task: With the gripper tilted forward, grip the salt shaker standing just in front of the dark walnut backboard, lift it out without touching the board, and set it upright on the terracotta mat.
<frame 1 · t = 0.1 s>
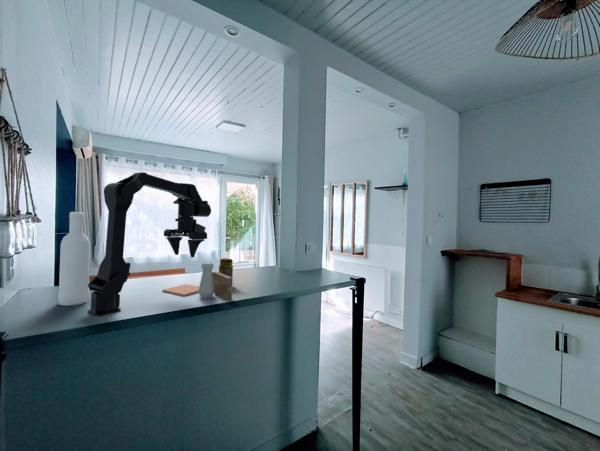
hand: (184, 256, 111), 15 cm above the countertop, tool pointing down, fingers open, 9 cm apart
condiment: (224, 286, 126), on the countertop
salt shaker: (206, 297, 107), on the countertop
terracotta mat: (185, 290, 115), on the countertop
bottle: (73, 302, 94), on the countertop
walnut backboard: (221, 294, 111), on the countertop
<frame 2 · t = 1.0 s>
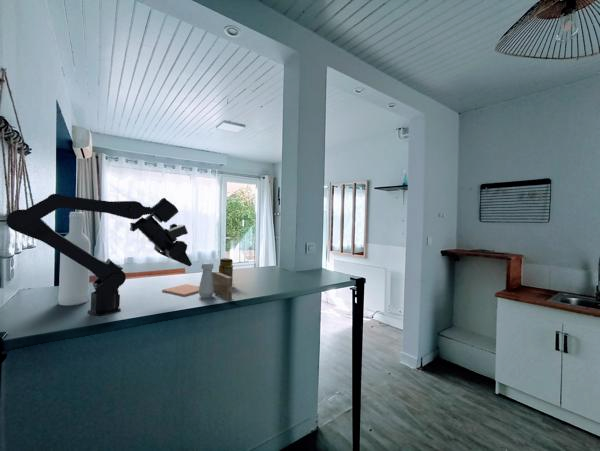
hand: (186, 263, 102), 13 cm above the countertop, tool tilted 45°, fingers open, 9 cm apart
nothing on the countertop moved.
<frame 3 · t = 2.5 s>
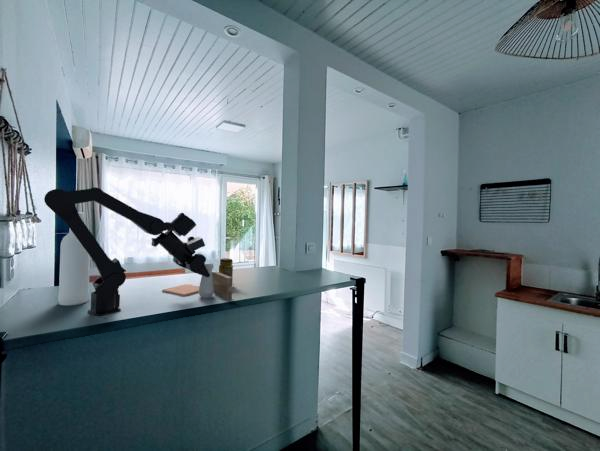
hand: (204, 274, 107), 9 cm above the countertop, tool tilted 45°, fingers open, 9 cm apart
nothing on the countertop moved.
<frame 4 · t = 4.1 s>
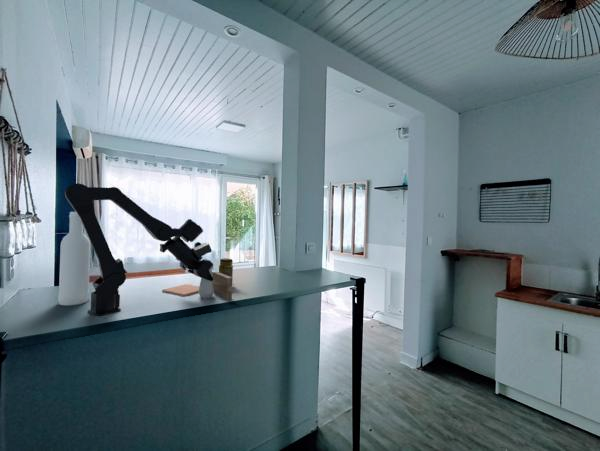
hand: (210, 279, 108), 7 cm above the countertop, tool tilted 45°, fingers closed on salt shaker, 3 cm apart
salt shaker: (206, 297, 107), on the countertop, touching gripper
everything else where it was.
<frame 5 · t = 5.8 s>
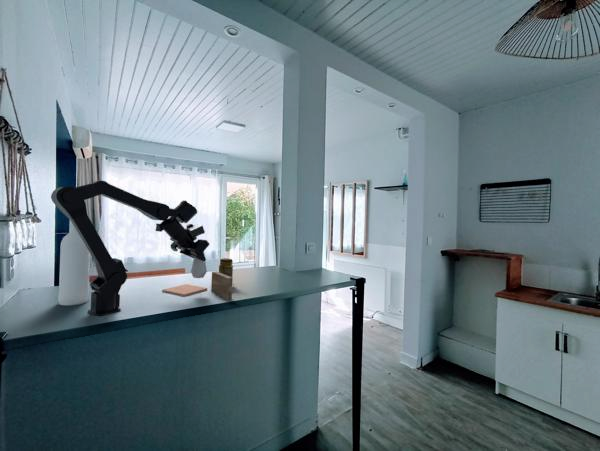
hand: (202, 260, 112), 13 cm above the countertop, tool tilted 45°, fingers closed on salt shaker, 3 cm apart
salt shaker: (198, 277, 111), point 6 cm above the countertop, touching gripper
everything else where it was.
when the fingers open (8 cm above the countertop, at t = 7.8 s): salt shaker stays where it is, resting on terracotta mat.
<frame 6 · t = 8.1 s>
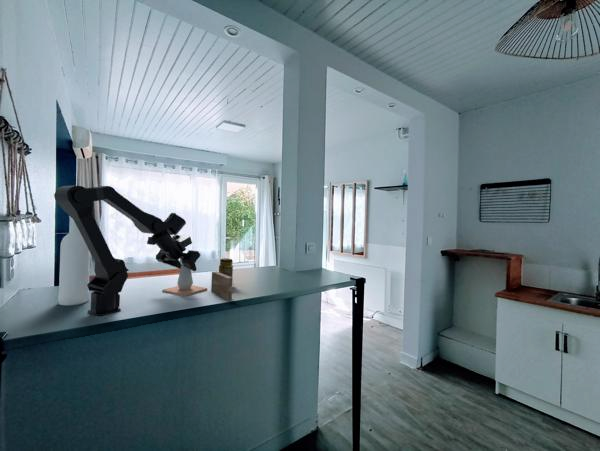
hand: (188, 269, 116), 9 cm above the countertop, tool tilted 45°, fingers open, 7 cm apart
salt shaker: (185, 289, 114), point 1 cm above the countertop, touching terracotta mat
everything else where it was.
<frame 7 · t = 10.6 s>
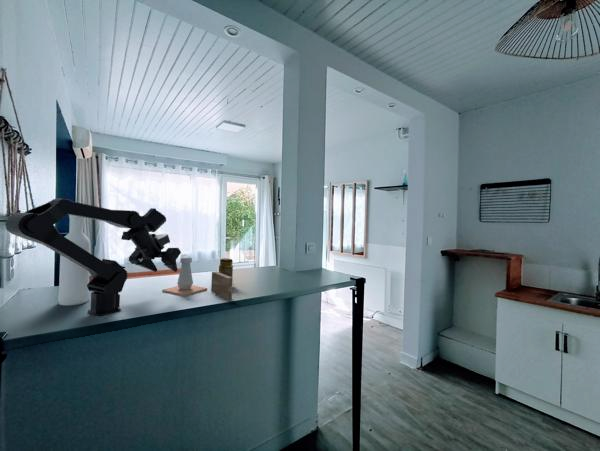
hand: (166, 271, 107), 9 cm above the countertop, tool tilted 40°, fingers open, 9 cm apart
nothing on the countertop moved.
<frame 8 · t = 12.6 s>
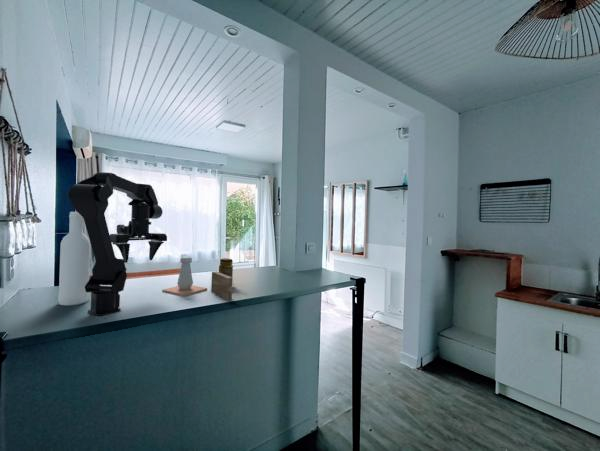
hand: (138, 261, 103), 13 cm above the countertop, tool pointing down, fingers open, 9 cm apart
nothing on the countertop moved.
at the end: salt shaker inside the target area on the terracotta mat (0.2 cm from its centre), point 0.6 cm above the terracotta mat's base; salt shaker tilted 0°; salt shaker touching terracotta mat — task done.
